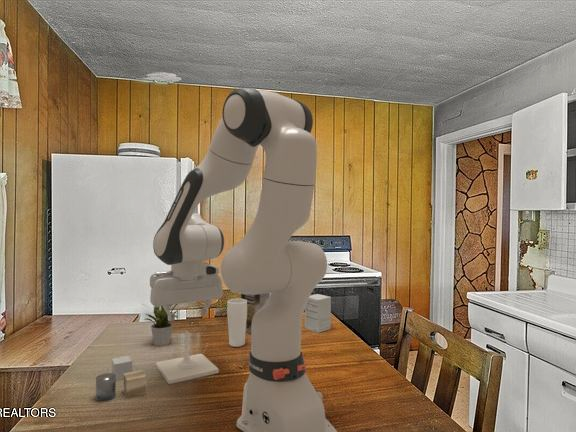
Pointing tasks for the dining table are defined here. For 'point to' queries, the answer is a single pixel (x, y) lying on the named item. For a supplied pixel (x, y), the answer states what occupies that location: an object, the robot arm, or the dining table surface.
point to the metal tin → (105, 387)
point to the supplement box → (318, 313)
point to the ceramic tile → (177, 375)
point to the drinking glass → (237, 321)
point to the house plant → (161, 326)
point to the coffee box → (253, 306)
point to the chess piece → (186, 355)
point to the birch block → (134, 383)
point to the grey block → (121, 366)
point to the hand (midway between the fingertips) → (187, 318)
